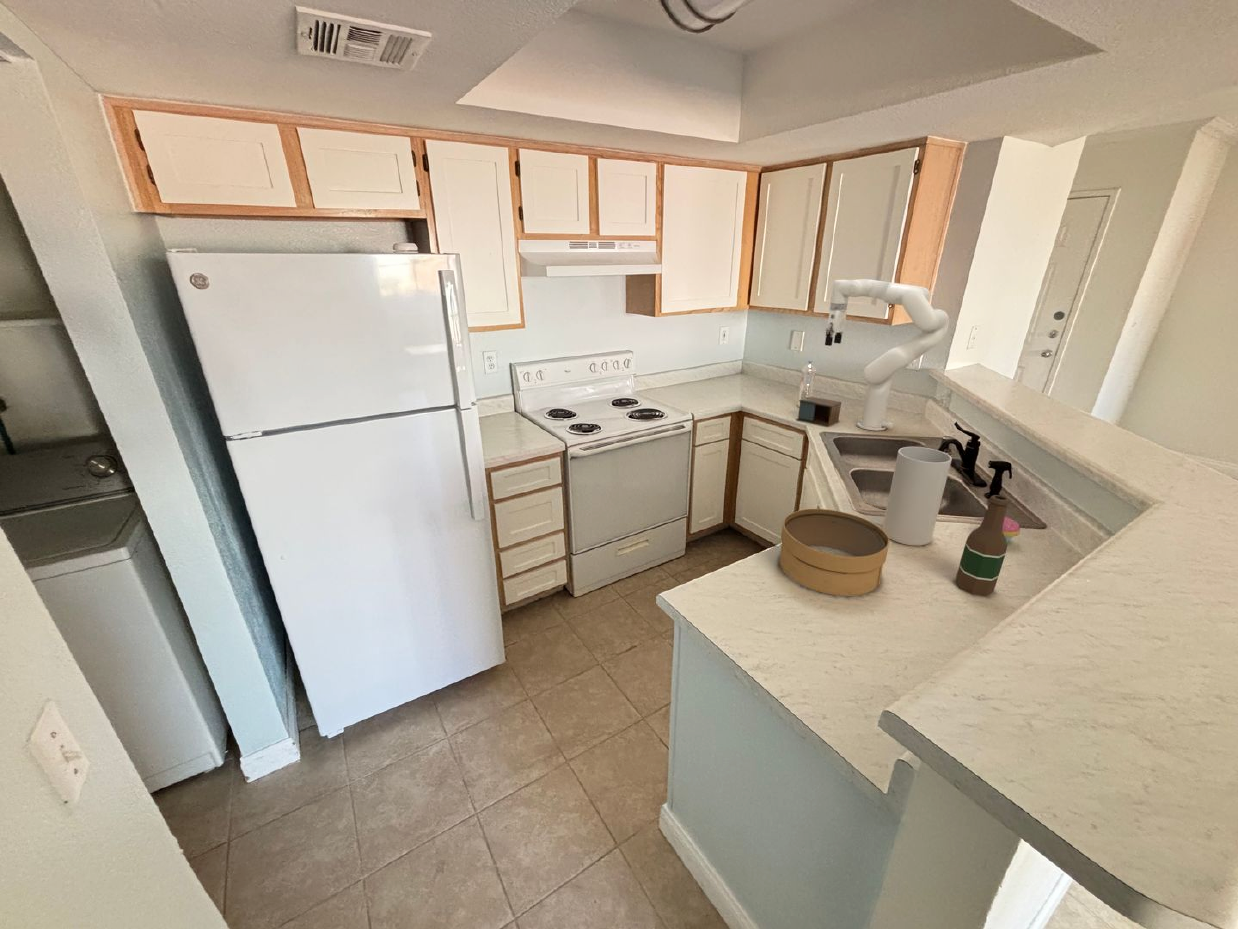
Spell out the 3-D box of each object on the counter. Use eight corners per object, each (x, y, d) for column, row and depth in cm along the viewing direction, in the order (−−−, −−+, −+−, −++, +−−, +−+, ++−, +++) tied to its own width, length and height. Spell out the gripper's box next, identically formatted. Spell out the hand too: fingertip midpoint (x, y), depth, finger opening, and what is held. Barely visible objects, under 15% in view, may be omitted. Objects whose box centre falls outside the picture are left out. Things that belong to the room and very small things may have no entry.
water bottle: (808, 409, 270) (814, 362, 260) (795, 407, 274) (801, 361, 264) (812, 406, 275) (818, 360, 265) (800, 404, 279) (805, 359, 269)
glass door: (812, 421, 246) (816, 393, 241) (798, 417, 252) (801, 390, 246) (813, 420, 247) (817, 393, 242) (798, 417, 252) (802, 390, 247)
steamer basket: (870, 549, 138) (878, 512, 133) (892, 605, 115) (901, 563, 111) (776, 538, 144) (781, 503, 139) (780, 589, 121) (785, 549, 117)
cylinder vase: (892, 521, 153) (908, 443, 143) (937, 536, 144) (958, 454, 135) (874, 535, 145) (890, 454, 136) (921, 552, 136) (942, 466, 127)
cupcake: (975, 540, 141) (986, 502, 137) (982, 529, 147) (993, 492, 143) (1012, 551, 136) (1025, 512, 131) (1018, 540, 141) (1031, 502, 137)
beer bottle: (952, 588, 121) (978, 499, 112) (956, 574, 126) (981, 487, 117) (992, 601, 116) (1021, 508, 107) (994, 585, 122) (1022, 495, 113)
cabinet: (827, 426, 241) (830, 406, 237) (796, 420, 251) (799, 400, 248) (838, 421, 248) (841, 401, 245) (807, 415, 259) (810, 396, 255)
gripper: (838, 308, 228) (832, 347, 234) (853, 306, 239) (848, 343, 245) (822, 308, 233) (817, 345, 239) (838, 305, 244) (833, 341, 250)
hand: (832, 344), depth 242 cm, fingers open, 9 cm apart
